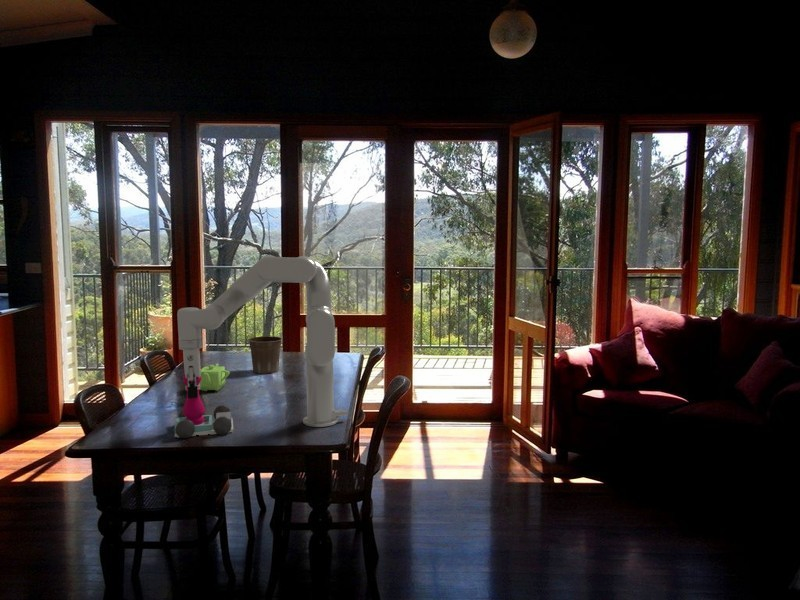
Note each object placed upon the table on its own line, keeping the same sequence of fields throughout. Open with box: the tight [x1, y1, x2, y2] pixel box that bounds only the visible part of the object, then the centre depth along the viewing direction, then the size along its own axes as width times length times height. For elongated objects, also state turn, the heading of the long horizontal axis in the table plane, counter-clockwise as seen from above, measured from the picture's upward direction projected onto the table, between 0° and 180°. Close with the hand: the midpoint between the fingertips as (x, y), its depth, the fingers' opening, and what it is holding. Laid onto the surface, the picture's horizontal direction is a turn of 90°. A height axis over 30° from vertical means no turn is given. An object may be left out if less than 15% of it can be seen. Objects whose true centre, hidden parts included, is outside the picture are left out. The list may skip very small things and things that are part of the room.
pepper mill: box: [182, 373, 206, 425], centre depth 217 cm, size 7×7×20 cm
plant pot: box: [247, 335, 283, 375], centre depth 306 cm, size 16×16×16 cm
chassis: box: [174, 404, 234, 439], centre depth 219 cm, size 19×16×6 cm
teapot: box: [199, 363, 231, 392], centre depth 273 cm, size 15×13×11 cm
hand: (193, 395), depth 217 cm, fingers closed on pepper mill, 5 cm apart
